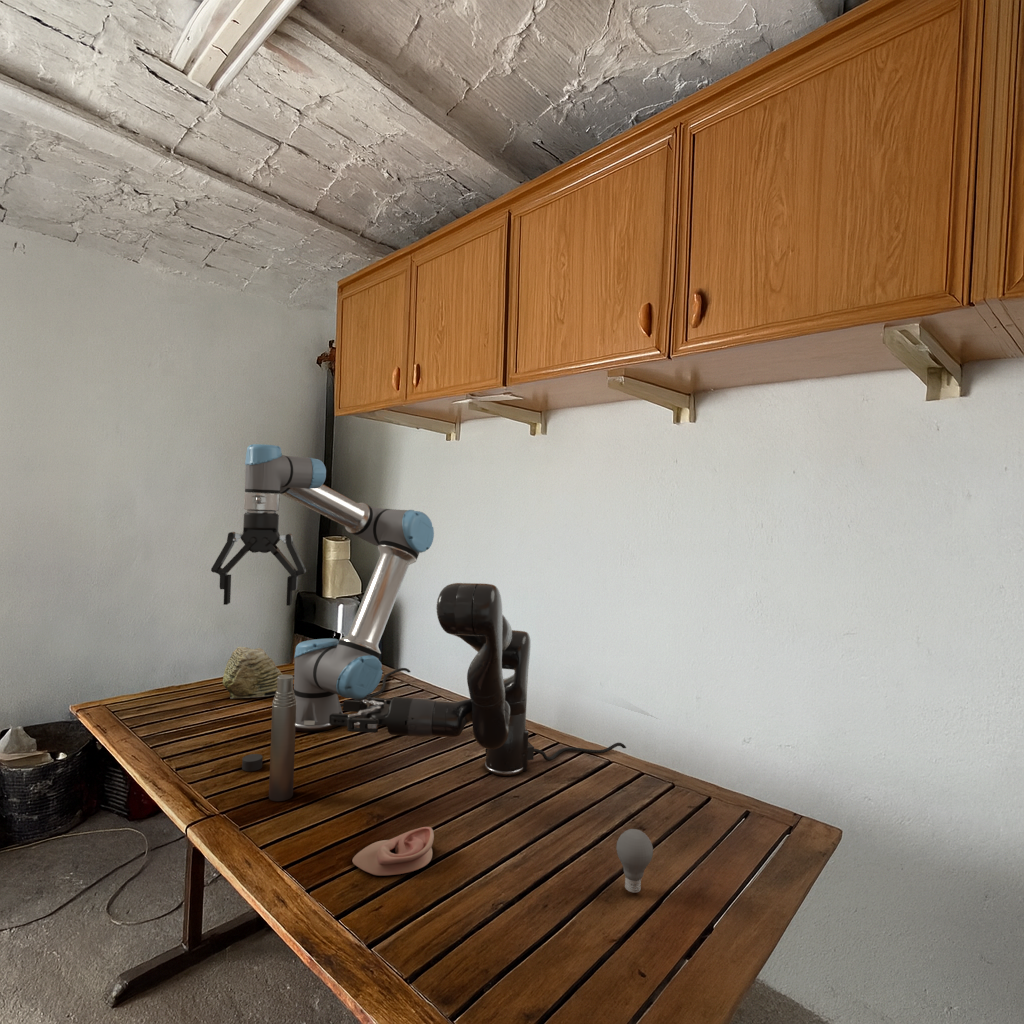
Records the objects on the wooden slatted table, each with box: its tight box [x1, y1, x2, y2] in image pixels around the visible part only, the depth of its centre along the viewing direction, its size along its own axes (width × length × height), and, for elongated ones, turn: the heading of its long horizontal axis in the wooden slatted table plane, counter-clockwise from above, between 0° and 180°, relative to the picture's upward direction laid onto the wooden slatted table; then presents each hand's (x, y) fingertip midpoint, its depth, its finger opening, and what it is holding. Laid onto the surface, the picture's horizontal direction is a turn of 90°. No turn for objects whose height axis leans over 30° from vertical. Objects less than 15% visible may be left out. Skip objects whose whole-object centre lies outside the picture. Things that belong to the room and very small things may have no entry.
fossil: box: [222, 646, 283, 699], centre depth 198 cm, size 9×18×15 cm, turn 132°
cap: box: [241, 753, 264, 772], centre depth 146 cm, size 4×4×2 cm
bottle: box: [268, 673, 296, 802], centre depth 133 cm, size 5×5×25 cm
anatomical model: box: [351, 826, 435, 877], centre depth 112 cm, size 13×4×12 cm
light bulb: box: [615, 828, 654, 894], centre depth 106 cm, size 6×6×10 cm
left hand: (258, 604), depth 146 cm, fingers open, 13 cm apart
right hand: (336, 711), depth 132 cm, fingers open, 8 cm apart
